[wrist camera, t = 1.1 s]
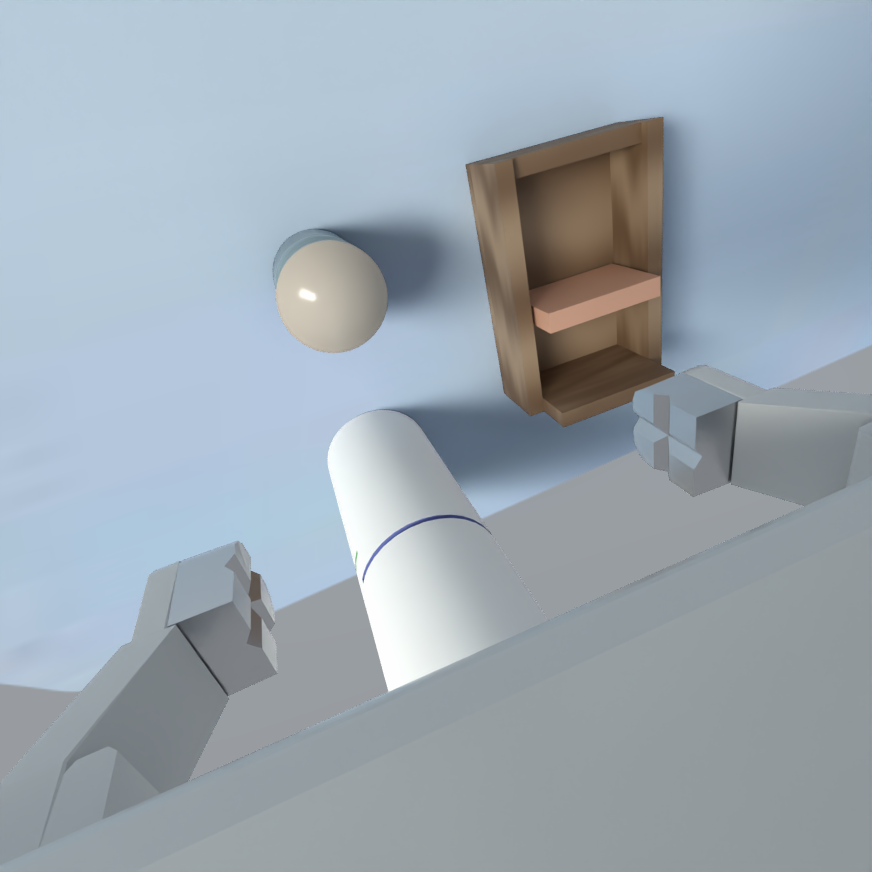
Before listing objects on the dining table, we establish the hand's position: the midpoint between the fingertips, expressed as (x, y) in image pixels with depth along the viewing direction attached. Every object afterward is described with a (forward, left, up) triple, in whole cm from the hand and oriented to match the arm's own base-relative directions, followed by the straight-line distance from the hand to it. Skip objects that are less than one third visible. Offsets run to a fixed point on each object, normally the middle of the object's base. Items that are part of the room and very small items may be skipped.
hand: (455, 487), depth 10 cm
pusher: (+5, +15, -22) cm, 27 cm away
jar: (0, 0, -23) cm, 23 cm away
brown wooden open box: (+4, +15, -23) cm, 28 cm away
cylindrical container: (+13, 0, -24) cm, 27 cm away
